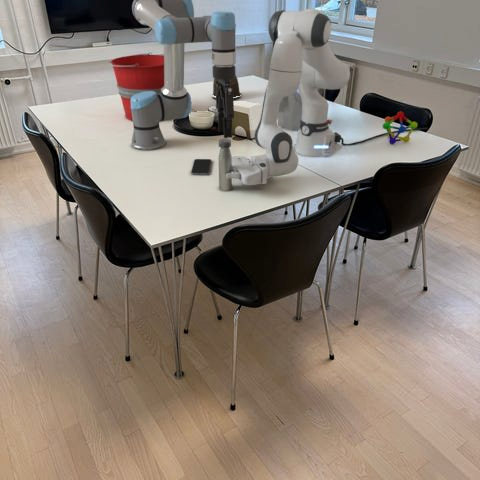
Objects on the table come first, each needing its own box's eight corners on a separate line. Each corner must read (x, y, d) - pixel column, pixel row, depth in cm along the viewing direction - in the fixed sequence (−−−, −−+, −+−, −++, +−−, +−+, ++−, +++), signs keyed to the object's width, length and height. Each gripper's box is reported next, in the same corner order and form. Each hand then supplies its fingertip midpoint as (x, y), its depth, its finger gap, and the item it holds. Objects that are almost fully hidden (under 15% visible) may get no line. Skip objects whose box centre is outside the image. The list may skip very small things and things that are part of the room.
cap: (218, 144, 160) (218, 138, 159) (230, 144, 161) (230, 138, 159) (219, 148, 157) (219, 142, 155) (231, 148, 157) (231, 142, 156)
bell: (227, 105, 294) (202, 96, 282) (238, 66, 289) (213, 55, 277) (243, 108, 280) (217, 98, 268) (255, 66, 275) (229, 55, 263)
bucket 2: (296, 138, 215) (301, 78, 201) (255, 124, 234) (256, 68, 219) (335, 125, 232) (342, 70, 217) (294, 113, 251) (297, 61, 236)
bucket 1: (124, 106, 262) (117, 51, 246) (183, 106, 262) (180, 52, 246) (108, 124, 233) (99, 63, 217) (174, 124, 232) (170, 64, 216)
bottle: (218, 185, 169) (217, 139, 159) (231, 185, 170) (231, 138, 160) (219, 191, 165) (218, 143, 155) (232, 190, 166) (232, 143, 156)
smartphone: (190, 173, 177) (194, 158, 190) (190, 174, 178) (194, 160, 190) (208, 173, 177) (211, 159, 190) (209, 174, 178) (211, 160, 190)
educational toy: (377, 146, 209) (379, 114, 202) (384, 138, 219) (386, 107, 211) (411, 149, 202) (415, 116, 195) (417, 141, 212) (420, 109, 204)
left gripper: (205, 60, 151) (208, 127, 163) (220, 71, 135) (222, 144, 147) (226, 59, 153) (227, 125, 165) (244, 70, 137) (243, 142, 149)
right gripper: (247, 150, 174) (213, 154, 170) (268, 169, 158) (232, 175, 154) (246, 165, 178) (214, 170, 173) (268, 185, 162) (232, 191, 157)
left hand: (225, 134), depth 156 cm, fingers open, 7 cm apart
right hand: (223, 172), depth 164 cm, fingers closed on bottle, 5 cm apart
